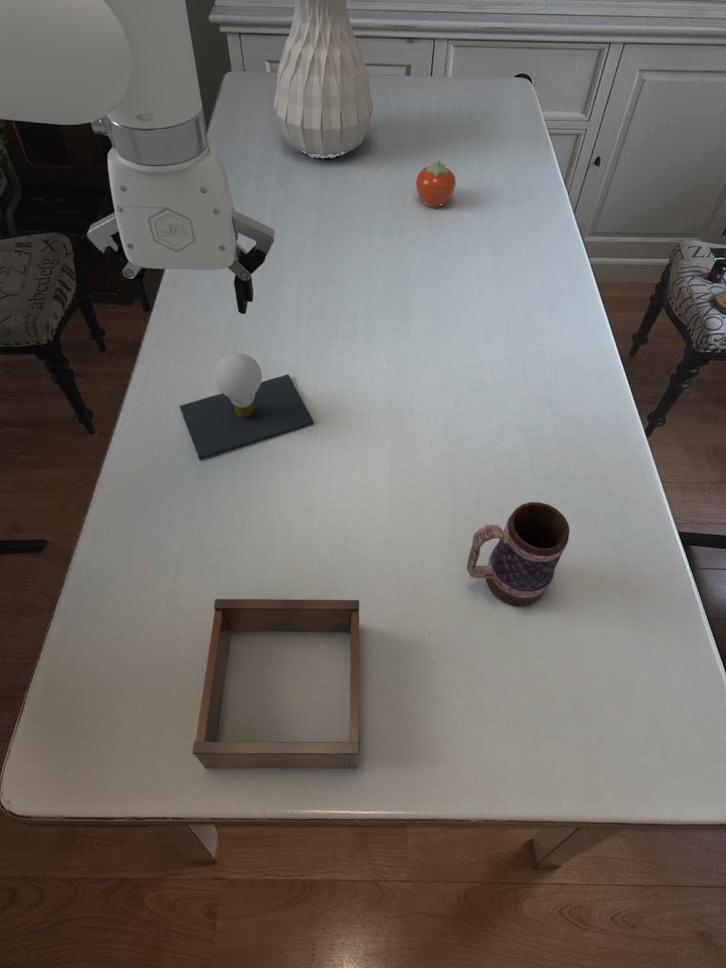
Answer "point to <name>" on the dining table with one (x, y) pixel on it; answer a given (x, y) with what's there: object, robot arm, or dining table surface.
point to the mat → (245, 418)
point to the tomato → (435, 184)
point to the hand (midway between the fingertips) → (197, 304)
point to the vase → (322, 81)
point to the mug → (521, 553)
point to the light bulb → (239, 381)
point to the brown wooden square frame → (226, 619)
